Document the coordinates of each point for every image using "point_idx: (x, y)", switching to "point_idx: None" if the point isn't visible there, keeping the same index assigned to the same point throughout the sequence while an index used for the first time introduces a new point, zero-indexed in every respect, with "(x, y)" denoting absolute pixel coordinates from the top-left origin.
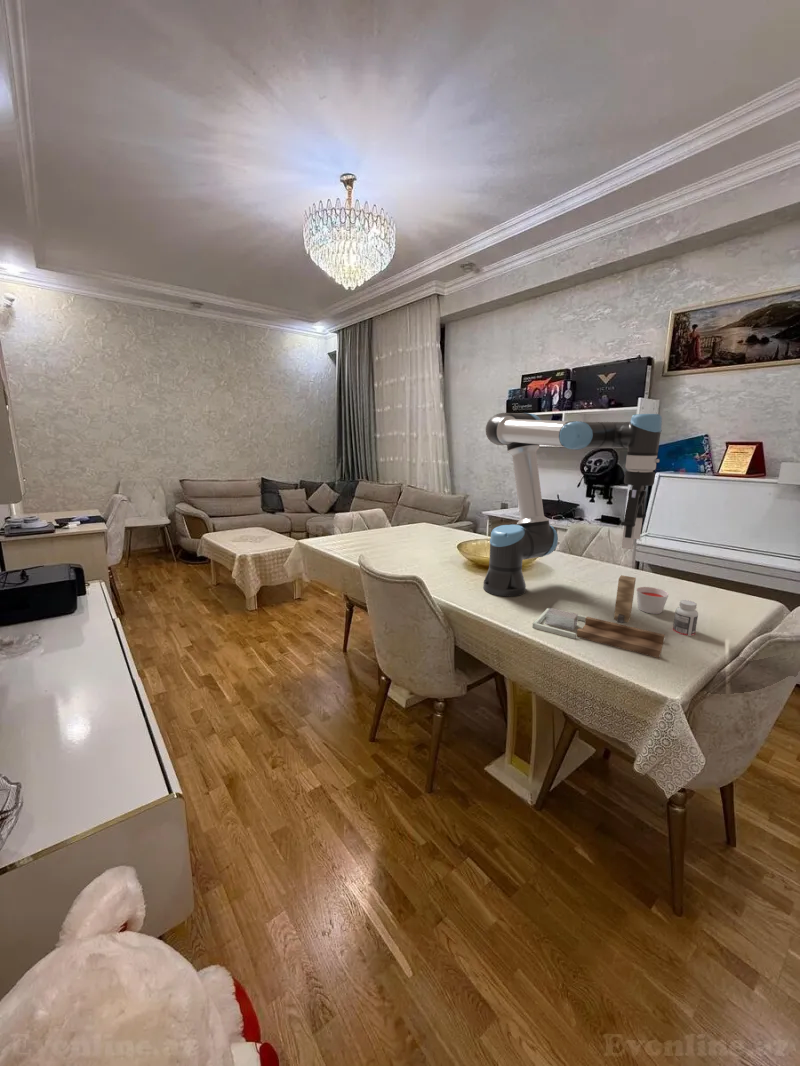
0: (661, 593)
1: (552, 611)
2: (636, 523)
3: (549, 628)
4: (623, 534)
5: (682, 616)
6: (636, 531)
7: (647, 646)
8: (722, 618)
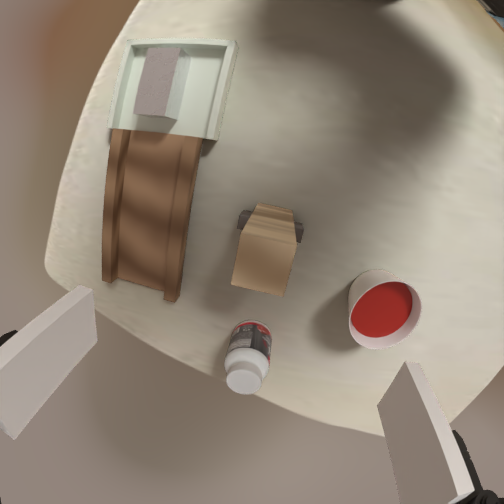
0: (399, 333)
1: (158, 58)
2: (420, 476)
3: (118, 74)
4: (18, 334)
5: (227, 353)
6: (401, 429)
7: (106, 262)
8: (357, 398)
